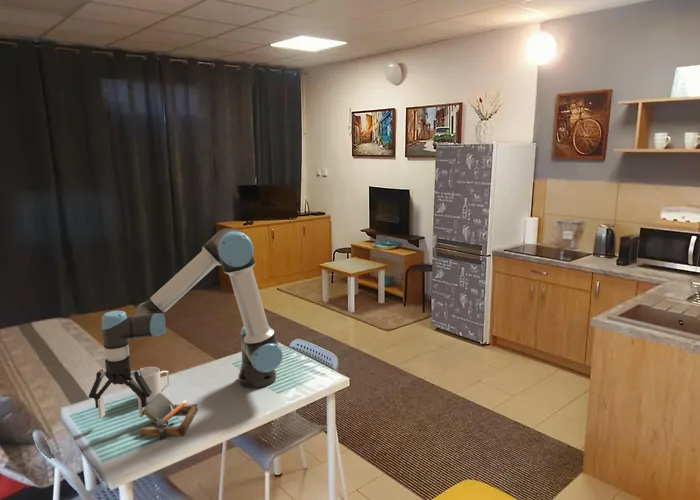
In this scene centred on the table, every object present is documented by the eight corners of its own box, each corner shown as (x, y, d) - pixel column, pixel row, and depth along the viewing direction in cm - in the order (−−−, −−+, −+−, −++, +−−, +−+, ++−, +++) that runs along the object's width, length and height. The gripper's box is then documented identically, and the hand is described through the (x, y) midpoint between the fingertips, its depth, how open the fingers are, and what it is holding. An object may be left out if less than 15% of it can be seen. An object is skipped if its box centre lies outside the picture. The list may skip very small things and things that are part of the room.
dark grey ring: (171, 434, 160) (170, 420, 160) (166, 442, 156) (165, 427, 155) (157, 434, 160) (156, 420, 160) (152, 442, 156) (151, 428, 155)
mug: (138, 406, 179) (136, 378, 177) (134, 397, 186) (132, 370, 184) (172, 398, 185) (170, 371, 183) (167, 389, 193) (165, 363, 191)
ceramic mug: (152, 424, 169) (138, 408, 167) (171, 406, 174) (157, 391, 172) (161, 428, 161) (146, 411, 159) (180, 409, 165) (166, 392, 164)
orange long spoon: (190, 403, 171) (190, 400, 171) (162, 426, 156) (161, 423, 156) (183, 402, 172) (183, 399, 171) (154, 425, 156) (154, 422, 156)
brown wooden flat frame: (197, 410, 176) (197, 404, 176) (183, 435, 160) (183, 428, 159) (158, 411, 176) (158, 404, 175) (140, 436, 159) (140, 429, 159)
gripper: (158, 352, 167) (162, 409, 171) (85, 353, 166) (90, 410, 170) (150, 361, 160) (155, 420, 163) (73, 362, 159) (79, 422, 163)
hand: (122, 415), depth 167 cm, fingers open, 13 cm apart
